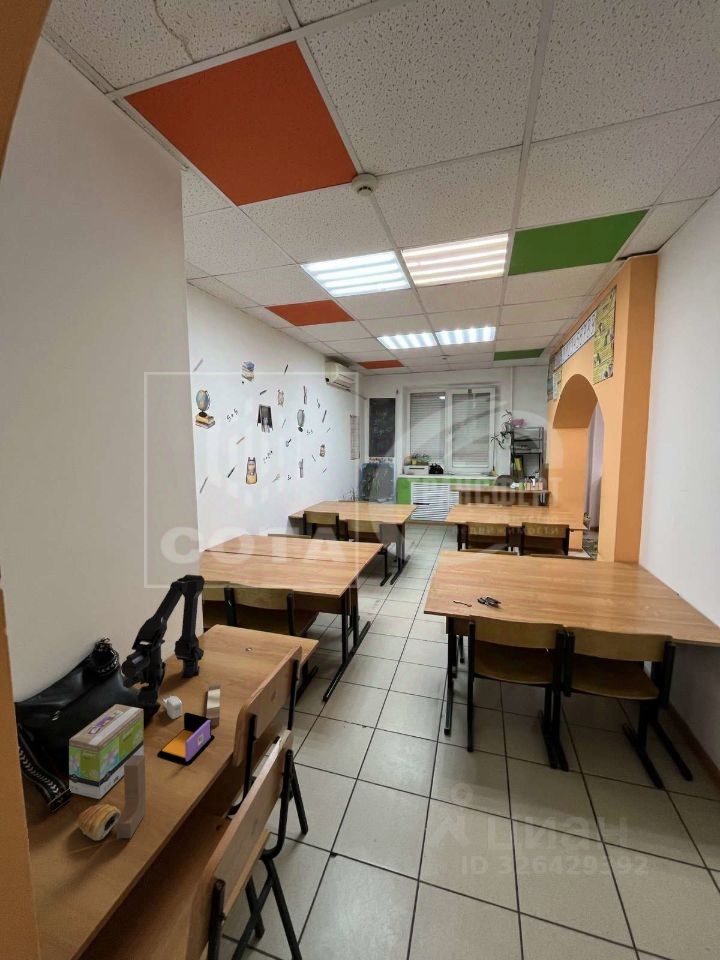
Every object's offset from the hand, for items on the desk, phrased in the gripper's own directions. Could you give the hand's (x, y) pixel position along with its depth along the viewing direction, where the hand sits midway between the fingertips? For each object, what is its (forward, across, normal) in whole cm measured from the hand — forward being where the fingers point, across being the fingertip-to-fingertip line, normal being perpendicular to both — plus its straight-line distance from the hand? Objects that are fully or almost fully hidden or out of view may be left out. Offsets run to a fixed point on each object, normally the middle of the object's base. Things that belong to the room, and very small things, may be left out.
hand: (152, 704), depth 131 cm
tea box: (+2, +26, -6) cm, 27 cm away
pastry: (+2, +39, -5) cm, 40 cm away
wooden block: (+2, +44, +3) cm, 45 cm away
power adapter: (+2, +4, +6) cm, 8 cm away
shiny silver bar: (+2, +6, +20) cm, 21 cm away
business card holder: (+2, +22, +13) cm, 26 cm away
